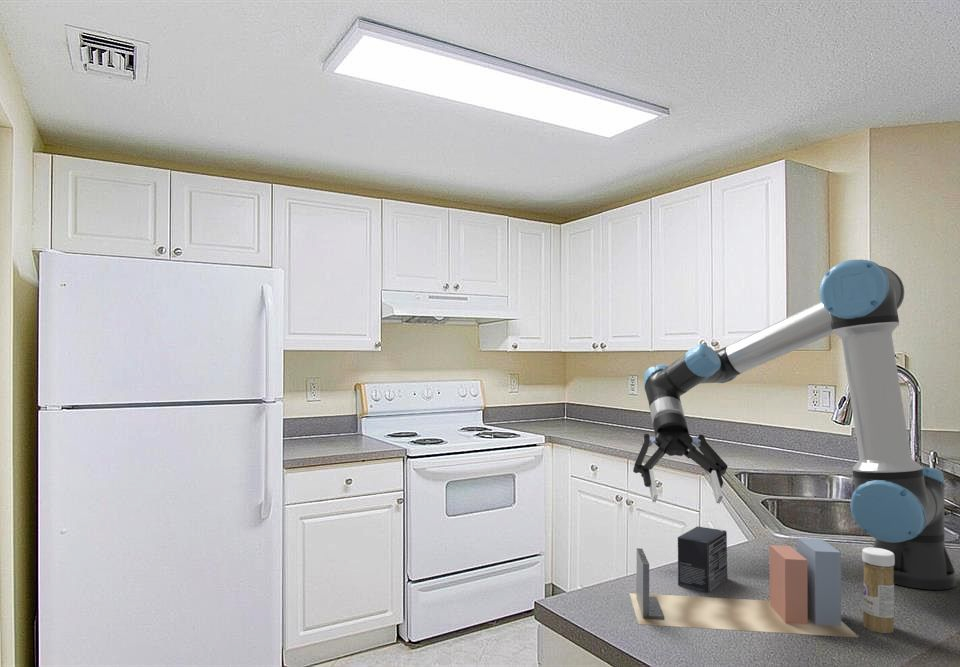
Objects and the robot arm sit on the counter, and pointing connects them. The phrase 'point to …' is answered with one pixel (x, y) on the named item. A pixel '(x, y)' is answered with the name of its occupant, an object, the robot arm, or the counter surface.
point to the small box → (702, 559)
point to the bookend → (646, 590)
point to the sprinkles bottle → (878, 589)
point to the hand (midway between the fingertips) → (687, 499)
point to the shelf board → (730, 616)
